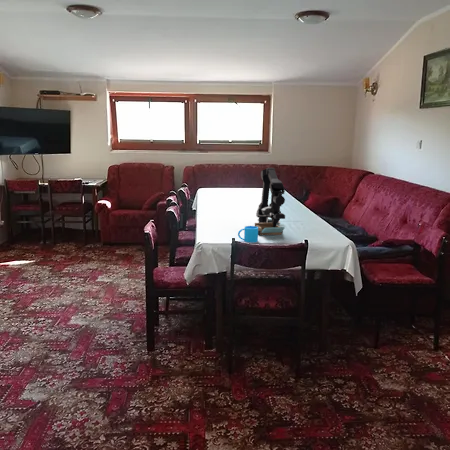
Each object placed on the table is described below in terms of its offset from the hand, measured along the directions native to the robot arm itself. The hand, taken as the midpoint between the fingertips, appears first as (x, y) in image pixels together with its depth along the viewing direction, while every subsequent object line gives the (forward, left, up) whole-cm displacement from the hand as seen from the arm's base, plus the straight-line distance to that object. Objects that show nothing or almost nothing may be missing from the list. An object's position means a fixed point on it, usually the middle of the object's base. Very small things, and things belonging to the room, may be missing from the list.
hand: (274, 227), depth 257 cm
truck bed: (-11, 0, -6) cm, 12 cm away
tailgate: (-4, 0, -4) cm, 6 cm away
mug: (+6, -19, -6) cm, 21 cm away
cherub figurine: (-45, +14, -6) cm, 47 cm away
